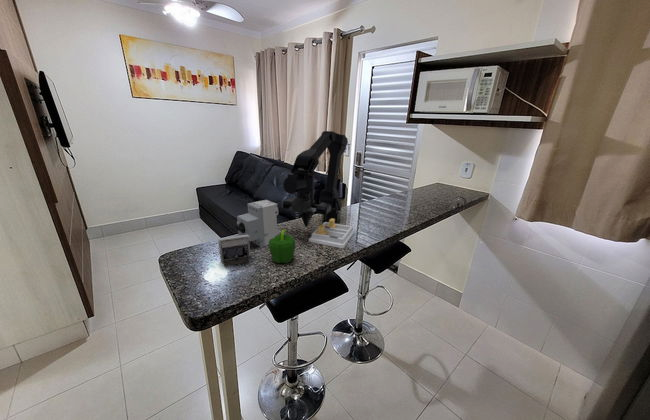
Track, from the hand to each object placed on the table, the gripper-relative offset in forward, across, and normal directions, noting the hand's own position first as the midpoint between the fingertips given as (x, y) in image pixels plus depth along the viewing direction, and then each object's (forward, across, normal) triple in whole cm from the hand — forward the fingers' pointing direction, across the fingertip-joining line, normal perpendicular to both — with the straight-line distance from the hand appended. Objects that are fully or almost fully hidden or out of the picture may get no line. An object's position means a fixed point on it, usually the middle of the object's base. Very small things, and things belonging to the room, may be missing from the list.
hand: (306, 226), depth 100 cm
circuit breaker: (+5, -14, -13) cm, 20 cm away
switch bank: (+4, +10, +4) cm, 12 cm away
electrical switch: (+5, -12, -27) cm, 30 cm away
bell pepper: (+5, +1, -20) cm, 21 cm away
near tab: (+3, +7, 0) cm, 7 cm away
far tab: (+3, +8, +8) cm, 12 cm away
